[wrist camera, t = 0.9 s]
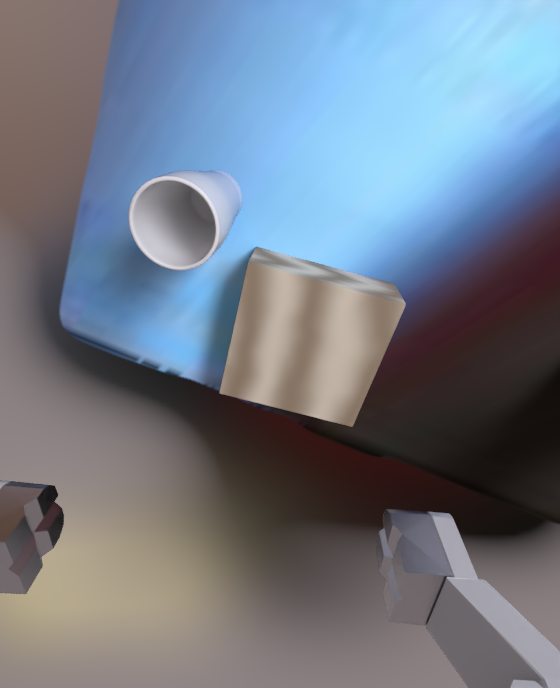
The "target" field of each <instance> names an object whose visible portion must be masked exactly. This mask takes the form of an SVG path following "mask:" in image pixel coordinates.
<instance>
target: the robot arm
mask: <svg viewBox="0 0 560 688" xmlns="http://www.w3.org/2000/svg"><path fill="white" fill-rule="evenodd" d="M57 497H58V493H57V490H56V488H55V486H52V485H44V484H34V483H23V482H14V481H2V480H0V593H13V594H26V593H27V591H28V590H29V588H30V586H31V585H32V583H33V581H34V580H35V578H36V576H37V575H38V573H39V571H40V570H41V568H42V565H43V564H42V556H43V555H45V554H46V553H47V552H49V551H50V550H51V549H53V548H54V546H55V544H56V543H57V541H58V539H59V537H60V534H61V531H62V528H63V524H64V514H63V511H62V508H61V507H60V506H59V505H58V504H56V503H55V502H54V501H55V500H56V498H57ZM383 524H384V529H382V530H381V531H379V535H378V540H377V561H378V567H379V572H380V574H381V575H382V576H383V578H384V579H385V580H386V583H385V586H384V590H383V594H384V599H385V605H386V610H387V615H388V620H389V622H396V623H406V624H416V625H425V626H426V628H427V630H428V631H429V633H430V634H431V636H432V637H433V639H434V640H435V641H436V643H437V644H438V645H439V647H440V648H441V650H442V651H443V652H444V654H445V655H446V657H447V658H448V660H449V661H450V662H451V664H452V665H453V667H454V668H455V670H456V671H457V672H458V674H459V675H460V677H461V678H462V679H463V681H464V682H465V684H466V685H467V686H468V688H560V652H559V651H558V650H557V649H556V648H555V647H554V646H553V645H552V644H551V643H550V642H549V641H548V640H547V639H546V638H545V637H544V636H543V635H542V634H541V633H540V632H539V631H538V630H537V629H536V628H534V627H533V626H532V625H531V624H530V623H529V622H528V621H527V620H526V619H525V618H524V617H523V616H522V615H521V614H520V613H519V612H518V611H517V610H516V609H515V608H513V606H512V605H510V604H509V603H508V602H507V601H506V600H505V599H504V598H503V597H502V596H501V595H500V594H499V593H498V592H497V591H496V590H495V589H494V588H493V587H492V586H491V585H490V584H489V583H488V582H486V581H485V580H482V579H478V578H477V575H476V573H475V570H474V568H473V565H472V563H471V561H470V558H469V556H468V553H467V551H466V548H465V546H464V544H463V541H462V539H461V536H460V534H459V531H458V529H457V527H456V524H455V522H454V519H453V517H452V516H451V515H450V514H449V513H436V512H426V511H411V510H394V509H387V510H386V511H385V512H384V516H383Z"/></svg>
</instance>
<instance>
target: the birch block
mask: <svg viewBox="0 0 560 688" xmlns="http://www.w3.org/2000/svg"><path fill="white" fill-rule="evenodd" d="M405 305H406V304H405V302H404V300H403V298H402V297H401V295H400V293H399V291H398V289H397V287H396V285H395V284H392V283H388V282H384V281H381V280H377V279H373V278H370V277H366V276H362V275H359V274H355V273H351V272H347V271H344V270H340V269H336V268H333V267H329V266H325V265H322V264H318V263H314V262H311V261H307V260H303V259H300V258H296V257H292V256H289V255H285V254H281V253H278V252H274V251H270V250H267V249H263V248H259V247H256V248H255V250H254V252H253V254H252V256H251V258H250V260H249V262H248V266H247V270H246V275H245V279H244V284H243V288H242V293H241V297H240V302H239V307H238V311H237V316H236V320H235V325H234V329H233V334H232V338H231V343H230V347H229V352H228V357H227V361H226V366H225V370H224V375H223V379H222V384H221V388H220V394H224V395H228V396H232V397H236V398H240V399H244V400H248V401H252V402H256V403H260V404H264V405H268V406H272V407H276V408H280V409H284V410H288V411H292V412H295V413H299V414H303V415H307V416H311V417H315V418H319V419H323V420H327V421H331V422H335V423H339V424H343V425H347V426H351V427H352V426H353V424H354V422H355V420H356V417H357V415H358V413H359V410H360V408H361V406H362V404H363V401H364V399H365V397H366V394H367V392H368V390H369V388H370V385H371V383H372V381H373V378H374V376H375V374H376V372H377V369H378V367H379V365H380V362H381V360H382V358H383V356H384V353H385V351H386V349H387V347H388V344H389V342H390V340H391V337H392V335H393V333H394V331H395V328H396V326H397V324H398V321H399V319H400V317H401V315H402V312H403V310H404V308H405Z"/></svg>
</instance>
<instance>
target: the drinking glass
mask: <svg viewBox="0 0 560 688" xmlns="http://www.w3.org/2000/svg"><path fill="white" fill-rule="evenodd" d="M241 206H242V192H241V189H240V187H239V185H238V183H237V182H236V180H235V179H234V178H233V177H232V176H230V175H229V174H227V173H225V172H223V171H220V170H210V171H192V170H184V171H175V172H170V173H167V174H164V175H161V176H159V177H156V178H154V179H151V180H149V181H148V182H146V183H145V184H143V185H142V186H141V187H140V188H139V189H138V191H137V192H136V193H135V195H134V197H133V199H132V201H131V204H130V209H129V225H130V230H131V233H132V236H133V238H134V240H135V242H136V244H137V246H138V247H139V248H140V250H141V251H142V252H143V253H144V254H145V255H146V256H147V257H148V258H149V259H150V260H152V261H153V262H154V263H156V264H158V265H160V266H162V267H165V268H167V269H171V270H189V269H193V268H196V267H198V266H200V265H202V264H203V263H204V262H206V261H207V260H208V259H209V258H210V257H211V256H212V255H213V254H214V253H215V252H216V251H217V250H218V249H219V248H220V247H221V245H222V244H223V242H224V241H225V239H226V238H227V236H228V234H229V231H230V229H231V227H232V224H233V222H234V220H235V218H236V216H237V215H238V214H239V212H240V210H241Z"/></svg>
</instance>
